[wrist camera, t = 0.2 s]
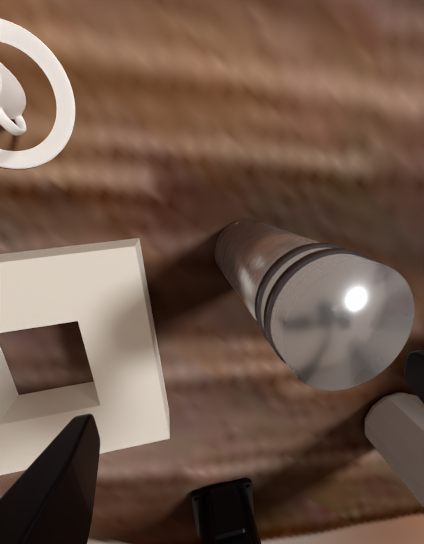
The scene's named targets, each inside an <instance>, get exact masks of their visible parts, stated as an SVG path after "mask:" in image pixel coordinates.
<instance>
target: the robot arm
mask: <svg viewBox="0 0 424 544" xmlns="http://www.w3.org/2000/svg"><path fill="white" fill-rule="evenodd" d="M404 377H405V380H406V382H407V383H408V385H409V386H410V387H411V389H412V390H413V391H414V392H415V394H416V395H417V396H418V397H419V399H420V400H421V401H422V402H423V404H424V350H417V351H412V352H410V353H409V354H408V356H407V361H406V366H405V371H404ZM99 453H100V436H99V432H98V429H97V426H96V422H95V419H94V416H93V415H92V414H84V415H79V416H75V417H74V418H73V419H72V420H71V421H70V422H69V423H68V424H67V425H66V426H65V427H64V428H63V430H62V431H61V432H60V433H59V434H58V435H57V436H56V437H55V438H54V440H53V441H52V442H51V443H50V444H49V445H48V446H47V447H46V448H45V450H44V451H43V452H42V453H41V454H40V455H39V456H38V457H37V458H36V460H35V461H34V462H33V463H32V464H31V465H30V466H29V467H28V468H27V470H26V471H25V472H24V473H23V474H22V475H21V476H20V477H19V478H18V479H17V481H16V482H15V483H14V484H13V485H12V486H11V487H10V488H9V489H8V491H7V492H6V493H5V494H4V495H3V496H2V497H1V498H0V544H87V541H88V536H89V531H90V526H91V520H92V513H93V506H94V497H95V488H96V480H97V471H98V462H99ZM191 500H192V506H193V513H194V519H195V525H196V531H197V536H198V537H200V539H201V544H261V541H260V537H259V534H258V530H257V526H256V523H255V519H254V503H253V487H252V482H251V480H250V479H243V480H239V481H235V482H231V483H227V484H223V485H219V486H215V487H211V488H207V489H203V490H199V491H195V492H193V493H192V494H191Z"/></svg>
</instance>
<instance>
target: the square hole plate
mask: <svg viewBox="0 0 424 544" xmlns="http://www.w3.org/2000/svg"><path fill="white" fill-rule="evenodd" d="M74 321H78V324H79V327H80V331H81V335H82V339H83V342H84V346H85V350H86V353H87V357H88V361H89V365H90V368H91V372H92V376H93V379H94V381H93V382H88V383H82V384H77V385H71V386H66V387H60V388H55V389H49V390H44V391H38V392H33V393H27V394H22V395H19V394H18V392H17V389H16V386H15V384H14V381H13V378H12V376H11V373H10V370H9V368H8V365H7V363H6V360H5V357H4V355H3V352H2V349H1V347H0V475H4V474H8V473H13V472H18V471H22V470H27V468H28V467H29V466H30V465H31V464H32V463H33V462H34V461H35V460H36V458H37V457H38V456H39V455H40V454H41V453H42V452H43V451H44V450H45V448H46V447H47V446H48V445H49V444H50V443H51V442H52V441H53V440H54V438H55V437H56V436H57V435H58V434H59V433H60V432H61V431H62V430H63V428H64V427H65V426H66V425H67V424H68V423H69V422H70V421H71V420H72V419H73V418H74V417H75V416H79V415H84V414H92V415H93V416H94V419H95V422H96V426H97V429H98V432H99V436H100V453H105V452H110V451H114V450H119V449H123V448H128V447H133V446H137V445H142V444H146V443H151V442H156V441H160V440H165V439H169V438H170V430H169V408H168V402H167V396H166V390H165V384H164V379H163V373H162V367H161V361H160V356H159V350H158V344H157V338H156V332H155V327H154V321H153V315H152V309H151V304H150V298H149V292H148V286H147V281H146V275H145V269H144V263H143V257H142V252H141V246H140V240H139V238H135V239H127V240H118V241H110V242H101V243H93V244H84V245H75V246H67V247H58V248H50V249H41V250H33V251H24V252H15V253H7V254H0V333H2V332H9V331H15V330H22V329H29V328H35V327H42V326H48V325H55V324H61V323H68V322H74ZM100 453H99V454H100Z"/></svg>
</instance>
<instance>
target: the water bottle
mask: <svg viewBox="0 0 424 544" xmlns="http://www.w3.org/2000/svg"><path fill="white" fill-rule="evenodd" d="M365 436H366V437H367V438H368V440H369V441H370V442H371V443H372V444H373V446H374V447H375V448H376V449H377V451H378V452H379V453H380V454H381V455H382V457H383V458H384V459H385V460H386V462H387V463H388V464H389V465H390V466H391V468H392V469H393V470H394V471H395V473H396V474H397V475H398V476H399V477H400V479H401V480H402V481H403V482H404V484H405V485H406V486H407V487H408V488H409V490H410V491H411V492H412V493H413V494H414V496H415V497H416V498H417V499H418V501H419V502H420V503H421V504H422V505H423V507H424V404H423V402H422V401H421V400H420V399H419V397H417V396H415V395H410V394H406V393H399V392H398V393H395V394H391V395H388V396H385V397H383V398H382V399H381V400H379V401H378V402H377V403H376V404H374V405H373V406H372V407H371V409H370V411H369V412H368V414H367V416H366V418H365Z"/></svg>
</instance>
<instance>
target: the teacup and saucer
mask: <svg viewBox="0 0 424 544" xmlns="http://www.w3.org/2000/svg"><path fill="white" fill-rule="evenodd" d="M0 42H4V43H7V44H10V45H12V46H14V47H16V48H18V49H20V50H22V51H23V52H25V53H26V54H27V55H29V56H30V57H31V58H32V59H33V60H34V61H35V62H36V63H37V64H38V65H39V66H40V67H41V68H42V70H43V71H44V72H45V74H46V75H47V77H48V79H49V81H50V83H51V85H52V87H53V90H54V93H55V97H56V104H57V115H56V121H55V124H54V127H53V129H52V131H51V133H50V134H49V136H48V137H47V138H46V139H45V140H44V141H43V142H42V143H41V144H39V145H38V146H36V147H34V148H31V149H28V150H24V151H6V150H2V149H0V167H3V168H9V169H27V168H33V167H37V166H40V165H42V164H44V163H46V162H48V161H50V160H52V159H53V158H54V157H56V156H57V155H58V154H59V153H60V152H61V151H62V149H63V148H64V147H65V145H66V144H67V142H68V140H69V138H70V136H71V134H72V131H73V127H74V121H75V101H74V96H73V91H72V88H71V85H70V82H69V79H68V77H67V75H66V73H65V71H64V69H63V67H62V66H61V64H60V62H59V61H58V60H57V58H56V57H55V55H54V54H53V53H52V52H51V51H50V50H49V48H48V47H47V46H46V45H45V44H44V43H43V42H41V41H40V40H39V39H38V38H37V37H36V36H34V35H33V34H31V33H30V32H29V31H27V30H25V29H24V28H22V27H20V26H18V25H16V24H14V23H12V22H9V21H6V20H3V19H0ZM25 106H26V97H25V93H24V91H23V88H22V87H21V85H20V83H19V82H18V80H17V79H16V78H15V77H14V75H13V74H12V73H11V72H10V71H9V70H8V69H7V68H6V67H5V66H4V65H3V64H2V63H1V62H0V125H1V126H2V127H3V128H4V129H6V130H7V131H8V132H9V133H11V134H13V135H16V136H18V135H21V134H23V133H24V132H25V131H26V124H25V121H24V119H23V117H22V113H23V111H24V109H25ZM10 119H14V120H15V122H16V124H17V125H15V124H14V123H13V122H12V121H11V120H10Z"/></svg>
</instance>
